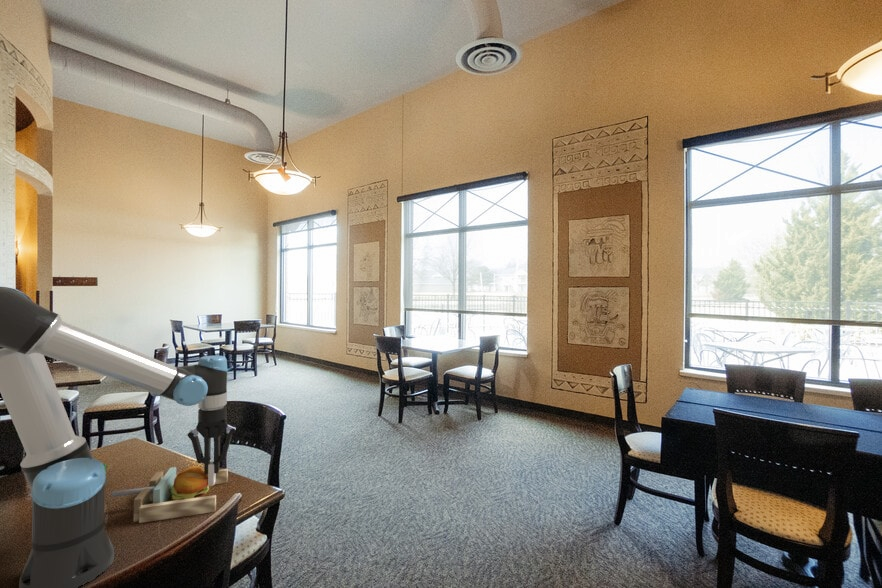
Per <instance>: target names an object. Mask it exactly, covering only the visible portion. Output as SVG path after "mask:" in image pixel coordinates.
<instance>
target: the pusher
mask: <svg viewBox="0 0 882 588" xmlns="http://www.w3.org/2000/svg"><path fill="white" fill-rule="evenodd" d="M176 475H177V467H176V466H173V467H169V469H168V470H167V472H166V473H165V474H163V478H162V479H161V481H160V482H159V483H158V485H157V486H154V487H149V486H148V487H147V486H146V487H138V488H132V489H131V488H130V489H123V490H116V491H114V490H113V491H111V492H110V498H114V497H115V498H116V497H123V496H132V495H138V494H139V493H140V492H141V491H142V490H143V489H146V488H150V492H153V501H152V504H154V503H161V502H169V501H170V499H171V490H170V489H171V487H172V486H173V484H174V479H175V478H176Z"/></svg>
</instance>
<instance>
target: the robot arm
mask: <svg viewBox="0 0 882 588" xmlns="http://www.w3.org/2000/svg"><path fill="white" fill-rule="evenodd" d="M45 357H48V358H51V359H54V360H57V361H61V362H63V363H65V364H69V365H70V366H71V365H72V366H74V367H78V368H80V369H83V370H86V371H89V372H92V373H94V374H97V375H100V376H103V377H106V378H109V379H111V380H115V381H118V382H121V383H123V384H126V385H129V386H132V387H136V388H138V389H141V390H144V391H147V392H149V393H150V395H151V396H152V397H163V398H166V399H169V400H171V401H175V403H177V404H179V405H182V406H186V407H192V406H196V405H197V406H198V411H197V416H198V417H197V425H196V427H195V428H194V429H192V430H189V432H188V433H187V437H188V438H189V440H191V444H192V447H193V451H194V455H195V458H196V462H197V464H203V466H204V468H203V469H204V473H205V475H206V474H208V486H209V487H212V486H214V485H216V484H215V482H216V473H218V471H219V470H220V467H221V466H220V463H221V462H222V461H224V460H226V459H227V455H228V450H229V448H230V444H231V441H232V436H233V435H234V433H235V431H236V429H237V427H236V426H232V425H230V424H229V422H228V418H227V417H228V416H227V414H228V411H227V410H228V409H227V408H228V407H227V406H226V405H227V404H228V402H227V401H228V399H227V398H228V396H227V394H228V390H227V389H228V387H227V386H228V384H227V383H228V361H227V358H226V357H225V356H224V355H206V356H201V357H199V359H198V362H197V364H196V363H195V364H193V365H185V366H183V365H182V366H174V365H171V364H169V363H166V362H164V361H161V360H159V359H157V358H154V357H151V356H149V355H146V354H144V353H141V352H139V351H137V350H134V349H132V348H129V347H127V346H124V345H121V344H119V343H116V342H114V341H112V340H110V339H107V338H104V337H102V336H100V335H97V334H94V333H92V332H90V331H87V330H85V329H82V328H80V327H77V326H75V325H72V324H71V323H68V322H66V321H63V320H62V317H61V315H60V314H59V313H56V312H54V311H52V310H49V309H47V308H44V307H43V306H42V305H40V304H37V303H36V302H34V301H33V300H32V298H31V297H30V295H29V296H28V294H26V292H25V293H24V292H23V291H21V290H20V289H16V288H12V287H7V286H0V394H1V397H2V400H3V402H4V404H5V406H6V407H5V408H6V409H7V412H8V414H9V416H10V419H11V421H12V424H13V426H14V428H15V430H16V432H17V435H18V438H19V440H20V442H21V444H22V447H23V449H24V451H25V454H26V455H25V456H24V458H23V459H22V461H21V462H20V464H19V465H20V467H21V470H22V472H23V475H24V477H25V479H26V481H27V484H28V486H29V489H30V496H31V551H30V553H29V556H28V558H27V561H26V563H25V566H24V568H23V570H22V573H21V575H20V578H19V581H18V583H19V584H18V588H77V587H79V586H81V585H83V584H84V583H86V582H89V583H90V582H92V581H94V580H96V579H97V578H96V576H98V575H99V574H101V573H102V572H104V571H105V570H106V569H107V568H108V567H109V566H110V565H112V564H113V562H114V559H115V548H114V545H113V542H112V541H111V539H110V537H109V534H108V532H107V531H106V528H105V507H106V506H105V497H106V496H105V492H106V489H105V488H106V485H105V484H106V479H107V472H105V469H104V465H103V462H102V461H100V460H99V459H96V458H95V457H94V456H93V454H92V452H91V449H90V447H89V444H88V442H87V440H86V438H85V437H84V436H79V435H76V434H75V431H74V429H73V427H72V423H71V421H70V418H69V417H68V413H67V411H66V408H65V406H64V403H63V401H62V399H61V398H62V397H61V396H60V393H59V391H58V388H57V385H56V382H55V379H54V378H53V376H52V373H51V371H50V370H51V369H50V368H49V365H48V363H47V360H46V358H45ZM225 431H226V432H225ZM224 432H225V433H226V434H227V435H226V438H225V441H224V445H223V448H222V452H221V436H222V434H223V433H224ZM199 434H200V436H202V438H203V446H204V447H203V448H204V449H202V445H201V442H200V439H199ZM212 438H213V460H211V459H212V457H211V451H212V447H211V446H212V445H211V442H212V440H211V439H212ZM110 567H111V566H110ZM110 567H109V568H110ZM109 568H108V569H109ZM108 569H107V570H108ZM107 570H106V571H107ZM106 571H105V572H106ZM105 572H104V573H105ZM101 575H102V574H101ZM95 578H96V579H95ZM83 586H84V585H83ZM81 587H82V586H81ZM79 588H80V587H79Z"/></svg>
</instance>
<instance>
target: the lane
mask: <svg viewBox="0 0 882 588" xmlns="http://www.w3.org/2000/svg"><path fill="white" fill-rule="evenodd" d="M177 475H178V474H176V476H177ZM207 475H208V474H207ZM163 477H164V471H162V470H160V471H156V473H155V474H154V475H153V476H152V477H151V478H150V480H149V484H148V485H149V486H148V487H154V486H157V485H158V483H159V482H160V481H161V479H162V478H163ZM228 480H229V469H228V468H221V469H220V468H219V471H218V473H216V482H215V484H214V485H220V484H227V483H228ZM145 488H146V487H145ZM150 502H153V492H150V488H146V489H143V490H142V491H141V492H140V493H139V494H137V496H136V497H135V498H134V499H133V523H135V522H138V523H139V524H143V523H148V522H155V521H162V520H169V519H175V518H183V517H189V516H195V515H202V514H207V513H208V514H210V513H214V512H216V510H217V494H214V495H213V494H212V495H205V496H204V497H198V498H191V499H183V500H176V501H172V500H169V501H168V502H161V503H154V504H153V503H150Z"/></svg>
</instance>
